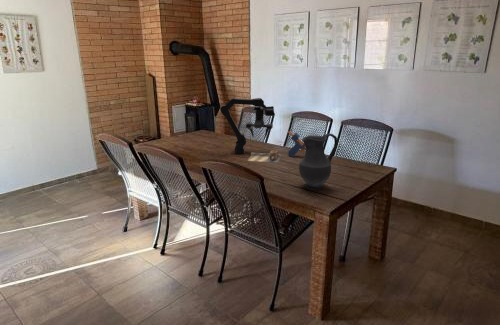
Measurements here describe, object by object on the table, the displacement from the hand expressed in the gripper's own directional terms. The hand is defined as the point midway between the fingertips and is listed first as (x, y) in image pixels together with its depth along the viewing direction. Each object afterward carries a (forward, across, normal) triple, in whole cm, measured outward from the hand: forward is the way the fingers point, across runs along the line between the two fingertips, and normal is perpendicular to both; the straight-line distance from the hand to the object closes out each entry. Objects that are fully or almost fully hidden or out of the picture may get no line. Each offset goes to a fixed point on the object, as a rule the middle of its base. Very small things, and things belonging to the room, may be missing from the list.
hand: (259, 137), depth 249 cm
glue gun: (+13, +33, 0) cm, 35 cm away
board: (+13, +6, -14) cm, 20 cm away
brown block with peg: (+11, +12, -14) cm, 22 cm away
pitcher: (+13, +43, -57) cm, 73 cm away
